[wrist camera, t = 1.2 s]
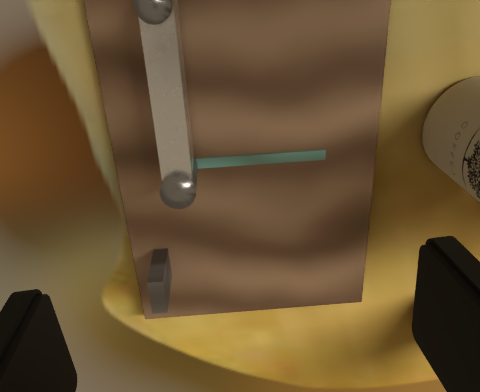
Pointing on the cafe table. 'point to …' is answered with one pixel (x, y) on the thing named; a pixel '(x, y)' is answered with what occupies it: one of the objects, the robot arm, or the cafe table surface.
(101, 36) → the jamb plate
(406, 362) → the cafe table surface
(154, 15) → the bar
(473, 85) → the travel mug
